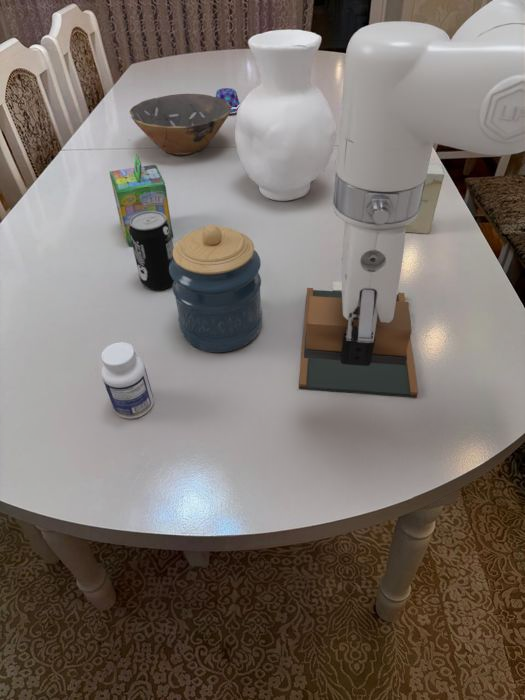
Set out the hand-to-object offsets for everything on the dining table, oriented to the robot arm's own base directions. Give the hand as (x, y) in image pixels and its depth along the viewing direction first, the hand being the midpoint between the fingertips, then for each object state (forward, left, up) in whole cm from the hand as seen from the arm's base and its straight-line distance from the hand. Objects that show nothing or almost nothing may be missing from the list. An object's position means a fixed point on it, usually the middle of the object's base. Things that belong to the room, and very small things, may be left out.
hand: (355, 343), depth 56 cm
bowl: (+41, -85, -13) cm, 96 cm away
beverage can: (+32, -27, -13) cm, 44 cm away
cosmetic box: (-14, -50, -14) cm, 53 cm away
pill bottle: (+28, +1, -13) cm, 31 cm away
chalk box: (+39, -43, -13) cm, 60 cm away
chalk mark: (0, -28, -14) cm, 31 cm away
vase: (+13, -63, -13) cm, 66 cm away
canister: (+19, -16, -13) cm, 29 cm away
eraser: (0, 0, 0) cm, 0 cm away
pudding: (+35, -115, -13) cm, 121 cm away
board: (-2, -15, -13) cm, 20 cm away
